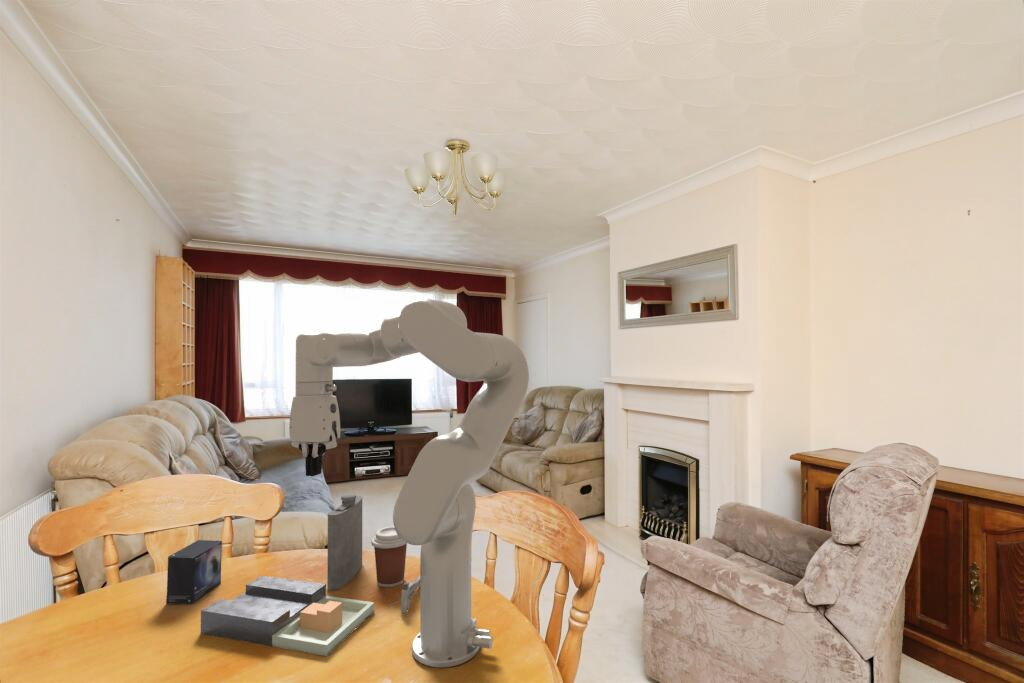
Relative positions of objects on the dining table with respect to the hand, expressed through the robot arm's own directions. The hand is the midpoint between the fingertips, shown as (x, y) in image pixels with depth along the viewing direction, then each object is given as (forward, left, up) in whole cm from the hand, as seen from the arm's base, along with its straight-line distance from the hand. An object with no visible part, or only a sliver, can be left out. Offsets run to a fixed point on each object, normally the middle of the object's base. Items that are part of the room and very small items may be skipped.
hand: (313, 474), depth 106 cm
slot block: (+7, +5, -29) cm, 30 cm away
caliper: (-18, -13, -30) cm, 37 cm away
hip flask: (+3, -17, -29) cm, 34 cm away
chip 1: (-4, +5, -29) cm, 29 cm away
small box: (+32, 0, -29) cm, 43 cm away
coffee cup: (-9, -17, -29) cm, 35 cm away
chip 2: (-6, +5, -27) cm, 28 cm away
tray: (-7, +5, -29) cm, 30 cm away
